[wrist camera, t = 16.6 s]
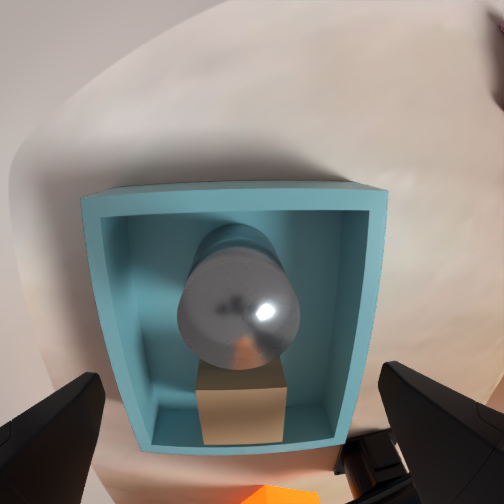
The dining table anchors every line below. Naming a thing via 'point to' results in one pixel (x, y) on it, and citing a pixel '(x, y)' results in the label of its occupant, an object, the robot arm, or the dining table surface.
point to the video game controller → (502, 27)
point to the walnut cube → (241, 403)
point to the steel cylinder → (237, 300)
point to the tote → (174, 278)
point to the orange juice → (281, 496)
